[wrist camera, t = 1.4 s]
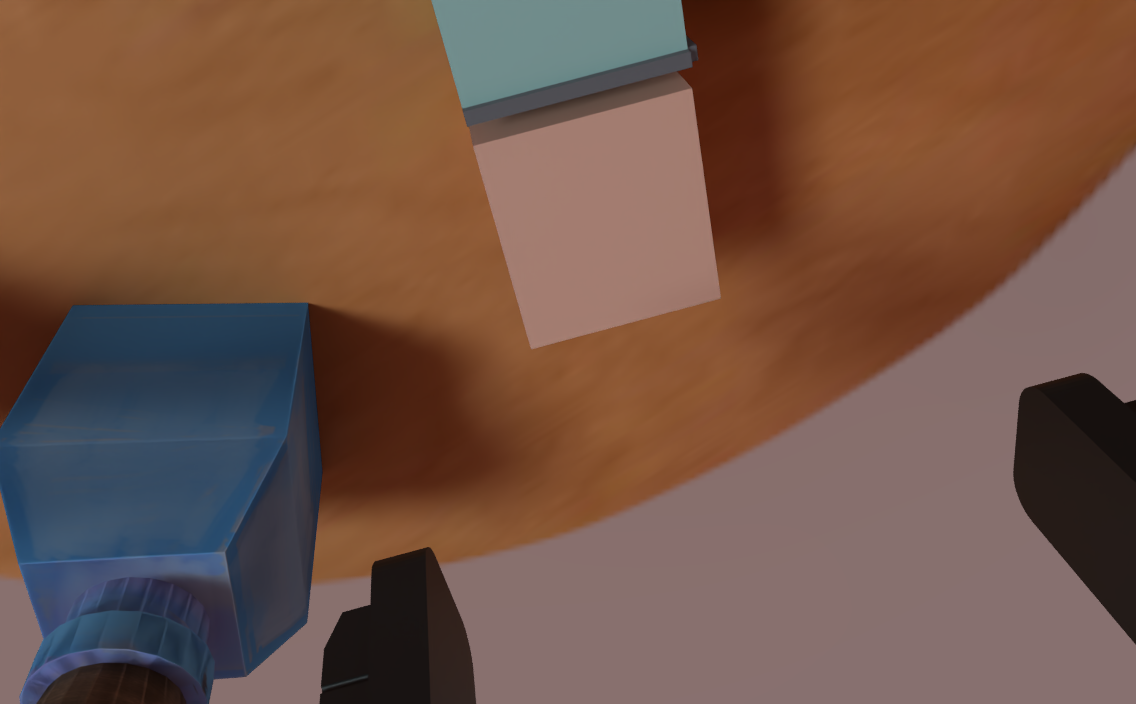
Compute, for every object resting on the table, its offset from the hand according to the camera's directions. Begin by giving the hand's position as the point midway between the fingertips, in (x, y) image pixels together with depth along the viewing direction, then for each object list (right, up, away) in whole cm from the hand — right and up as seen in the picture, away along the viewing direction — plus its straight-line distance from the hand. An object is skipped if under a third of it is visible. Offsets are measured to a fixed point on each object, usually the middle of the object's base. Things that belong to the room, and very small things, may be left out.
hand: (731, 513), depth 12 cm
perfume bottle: (-13, +1, +15) cm, 20 cm away
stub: (-2, +8, +12) cm, 15 cm away
